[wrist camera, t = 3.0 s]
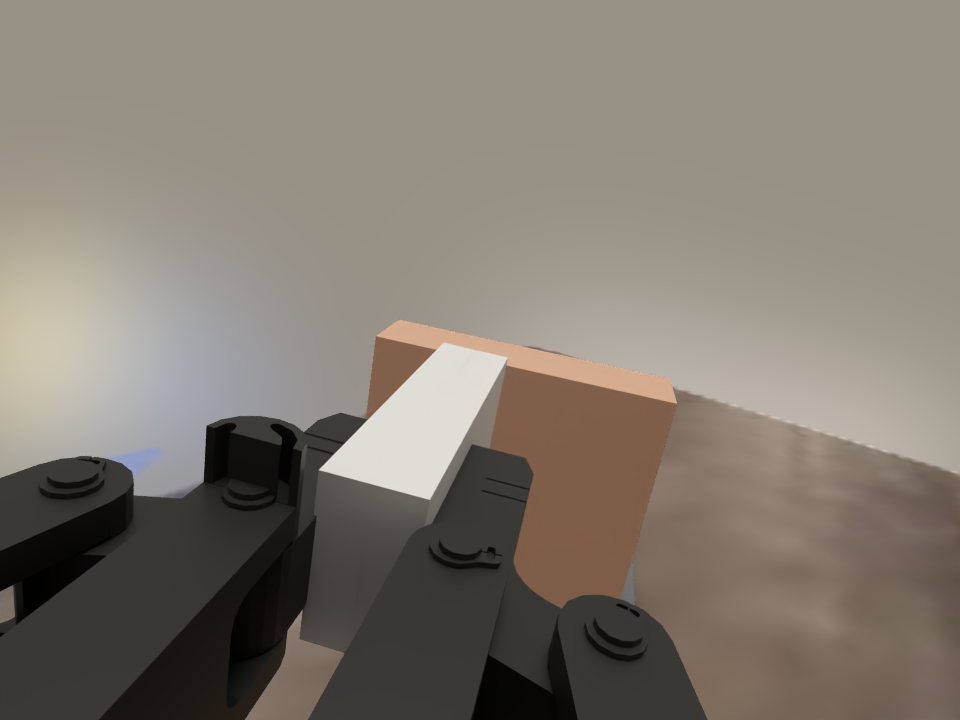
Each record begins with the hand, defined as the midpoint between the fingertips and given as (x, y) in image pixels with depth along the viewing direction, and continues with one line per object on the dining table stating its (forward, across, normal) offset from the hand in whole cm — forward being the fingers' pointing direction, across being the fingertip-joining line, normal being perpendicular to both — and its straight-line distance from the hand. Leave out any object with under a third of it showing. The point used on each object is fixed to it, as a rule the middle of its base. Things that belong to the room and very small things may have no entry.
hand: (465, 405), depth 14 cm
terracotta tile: (+12, +1, -14) cm, 18 cm away
